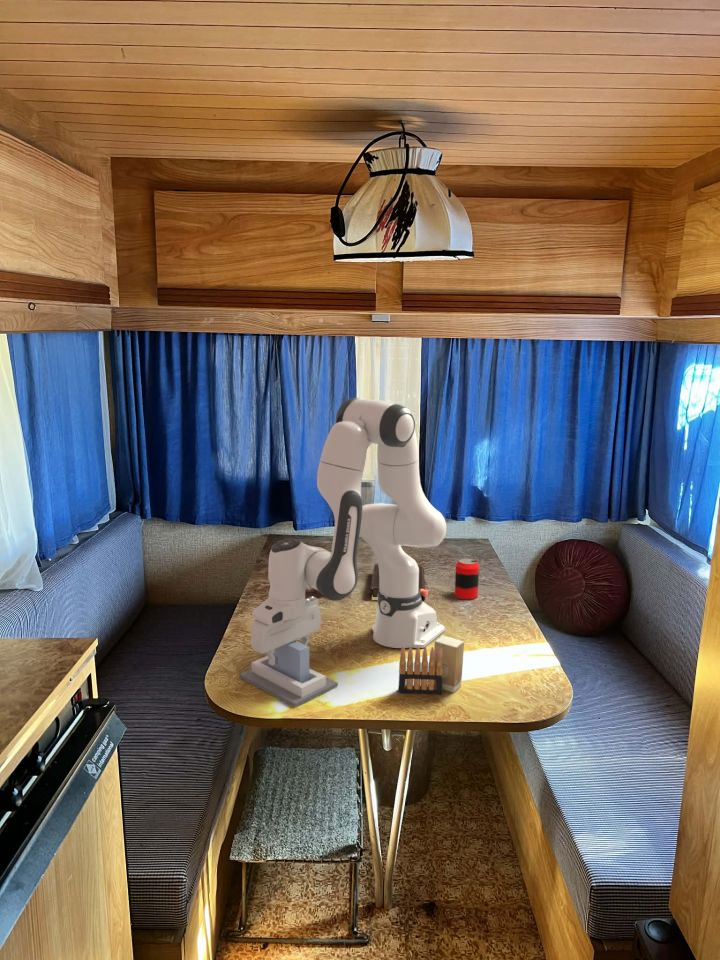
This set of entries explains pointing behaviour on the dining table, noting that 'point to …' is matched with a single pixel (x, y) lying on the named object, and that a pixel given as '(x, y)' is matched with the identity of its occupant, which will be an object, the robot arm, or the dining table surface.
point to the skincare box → (450, 662)
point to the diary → (376, 580)
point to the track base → (287, 683)
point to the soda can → (466, 579)
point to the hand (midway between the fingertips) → (287, 657)
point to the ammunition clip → (420, 673)
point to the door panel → (293, 661)
